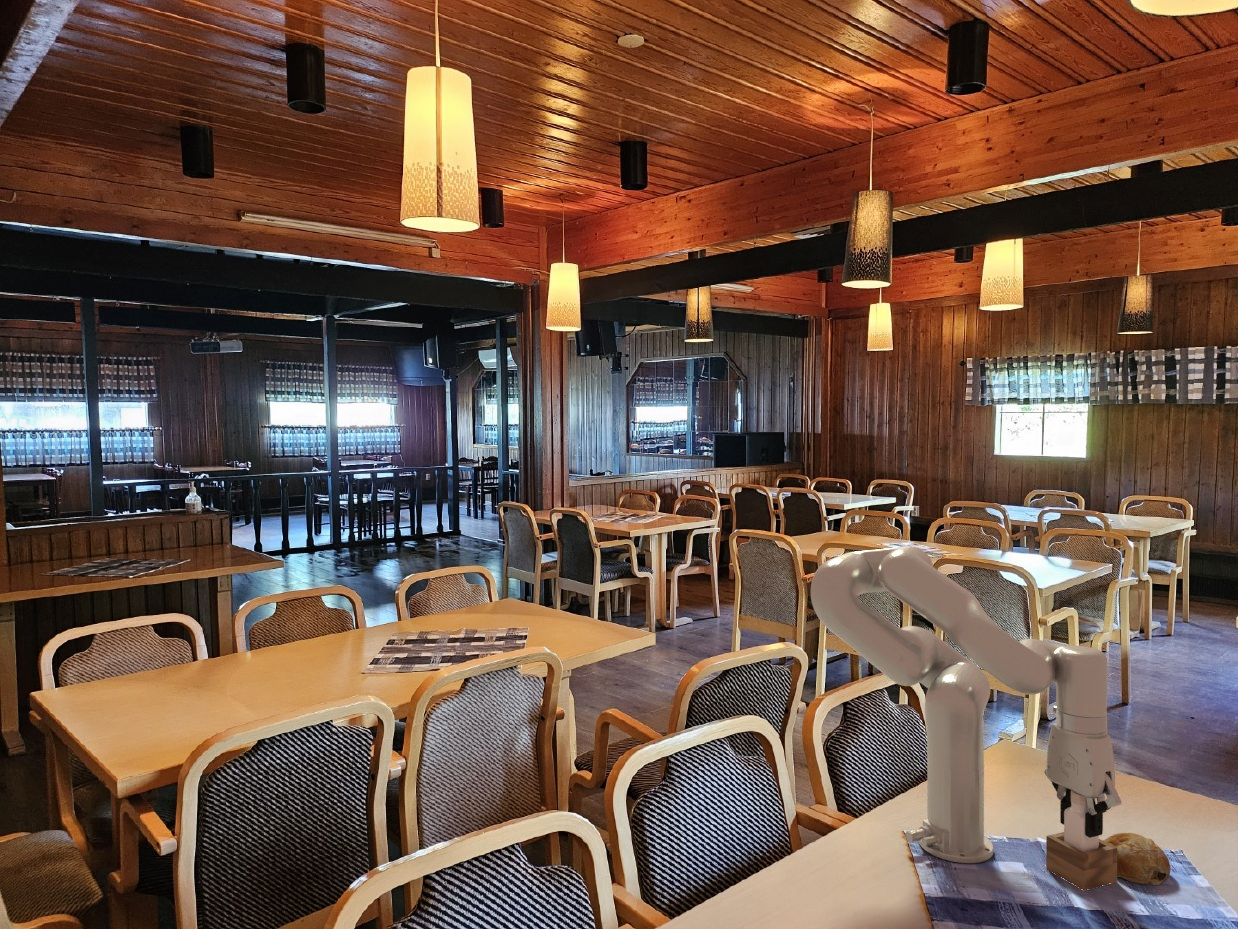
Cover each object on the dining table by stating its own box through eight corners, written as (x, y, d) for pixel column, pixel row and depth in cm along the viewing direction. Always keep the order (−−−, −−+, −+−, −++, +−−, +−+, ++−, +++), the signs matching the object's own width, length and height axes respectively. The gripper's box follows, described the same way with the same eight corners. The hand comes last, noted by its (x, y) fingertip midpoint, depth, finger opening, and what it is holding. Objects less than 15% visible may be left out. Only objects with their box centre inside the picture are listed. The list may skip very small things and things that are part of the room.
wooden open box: (1083, 892, 136) (1083, 856, 136) (1046, 870, 143) (1046, 836, 143) (1117, 883, 138) (1117, 848, 138) (1078, 862, 145) (1078, 828, 145)
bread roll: (1133, 908, 137) (1155, 875, 134) (1080, 857, 145) (1099, 824, 142) (1168, 893, 142) (1190, 860, 139) (1115, 844, 150) (1134, 812, 147)
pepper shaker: (1083, 855, 138) (1084, 798, 138) (1062, 845, 142) (1062, 789, 141) (1100, 850, 139) (1100, 794, 139) (1078, 840, 143) (1079, 785, 143)
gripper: (1024, 709, 147) (1024, 812, 147) (1109, 741, 131) (1109, 856, 131) (1056, 704, 149) (1056, 805, 150) (1144, 735, 133) (1143, 848, 134)
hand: (1081, 828), depth 140 cm, fingers closed on pepper shaker, 4 cm apart
